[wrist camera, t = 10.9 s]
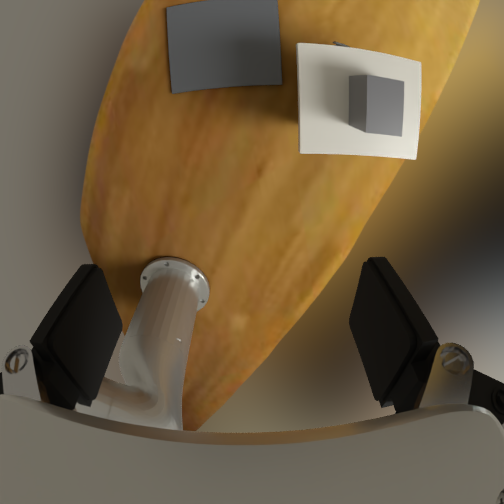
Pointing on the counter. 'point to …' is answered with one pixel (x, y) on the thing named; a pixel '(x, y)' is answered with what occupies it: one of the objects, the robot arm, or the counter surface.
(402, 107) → the lid
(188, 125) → the counter surface
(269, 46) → the mat
